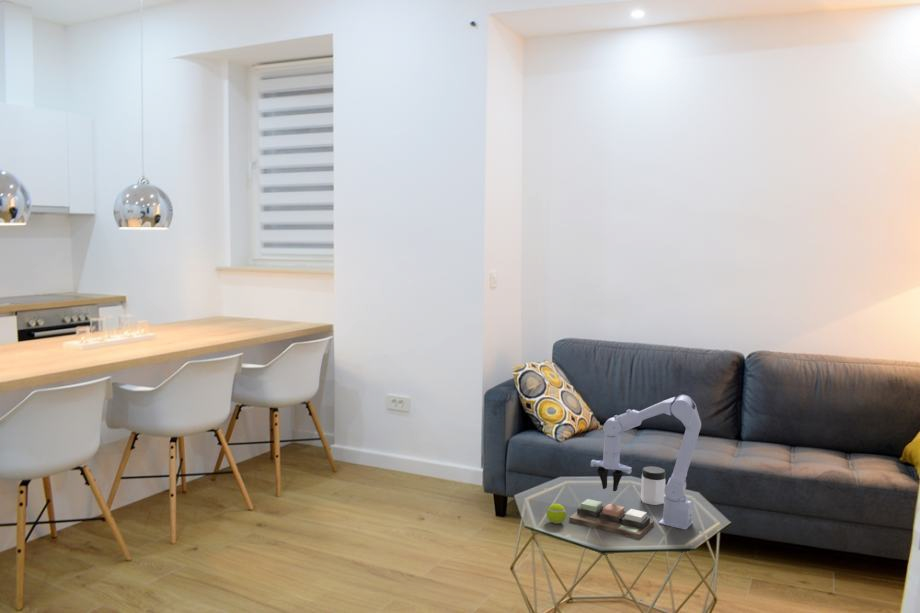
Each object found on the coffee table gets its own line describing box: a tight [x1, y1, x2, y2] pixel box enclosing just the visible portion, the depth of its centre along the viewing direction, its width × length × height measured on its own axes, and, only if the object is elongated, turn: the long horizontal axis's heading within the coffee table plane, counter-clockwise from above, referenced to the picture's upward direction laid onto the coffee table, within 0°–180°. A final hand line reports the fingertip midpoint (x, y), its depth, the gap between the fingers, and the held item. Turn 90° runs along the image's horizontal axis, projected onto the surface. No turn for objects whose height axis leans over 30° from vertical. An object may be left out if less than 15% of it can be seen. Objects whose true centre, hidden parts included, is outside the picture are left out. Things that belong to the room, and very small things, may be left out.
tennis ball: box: [546, 503, 567, 525], centre depth 264 cm, size 7×7×7 cm
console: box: [568, 505, 655, 540], centre depth 266 cm, size 25×14×3 cm, turn 57°
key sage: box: [580, 498, 603, 512], centre depth 271 cm, size 6×6×2 cm
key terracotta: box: [603, 503, 625, 517], centre depth 267 cm, size 6×6×2 cm
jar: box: [640, 465, 666, 506], centre depth 287 cm, size 9×8×12 cm
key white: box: [625, 508, 648, 523], centre depth 262 cm, size 6×6×2 cm
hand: (609, 489), depth 275 cm, fingers open, 3 cm apart
